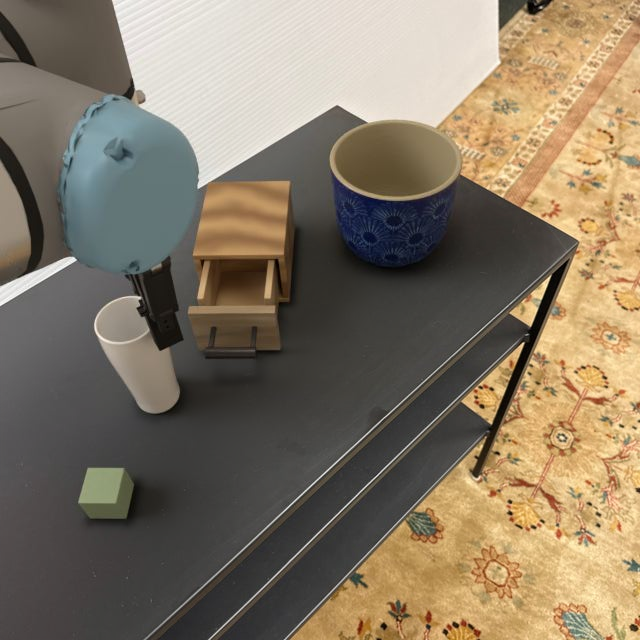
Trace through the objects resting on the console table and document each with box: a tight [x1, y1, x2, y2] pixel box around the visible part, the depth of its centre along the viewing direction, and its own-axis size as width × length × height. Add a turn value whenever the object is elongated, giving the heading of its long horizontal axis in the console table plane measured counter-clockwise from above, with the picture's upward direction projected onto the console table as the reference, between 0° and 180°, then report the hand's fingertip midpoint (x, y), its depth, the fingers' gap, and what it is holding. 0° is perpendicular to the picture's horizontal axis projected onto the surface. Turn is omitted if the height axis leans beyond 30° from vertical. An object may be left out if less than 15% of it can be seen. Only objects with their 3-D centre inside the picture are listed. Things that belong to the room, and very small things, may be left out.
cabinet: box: [192, 180, 296, 303], centre depth 89 cm, size 15×12×9 cm
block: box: [78, 467, 135, 520], centre depth 69 cm, size 4×4×4 cm
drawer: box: [187, 259, 282, 360], centre depth 82 cm, size 18×10×7 cm, turn 179°
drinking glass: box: [93, 295, 181, 415], centre depth 73 cm, size 7×7×15 cm
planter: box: [329, 119, 463, 268], centre depth 89 cm, size 17×17×15 cm
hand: (169, 340), depth 67 cm, fingers closed
